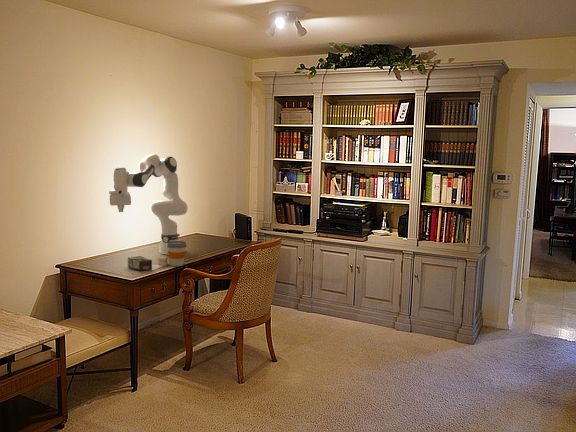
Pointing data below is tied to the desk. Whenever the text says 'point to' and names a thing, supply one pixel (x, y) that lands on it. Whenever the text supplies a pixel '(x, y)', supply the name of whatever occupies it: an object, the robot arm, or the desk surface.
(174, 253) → the reusable coffee cup
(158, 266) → the grey mat
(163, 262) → the maple block
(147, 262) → the coffee box
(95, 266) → the desk surface
